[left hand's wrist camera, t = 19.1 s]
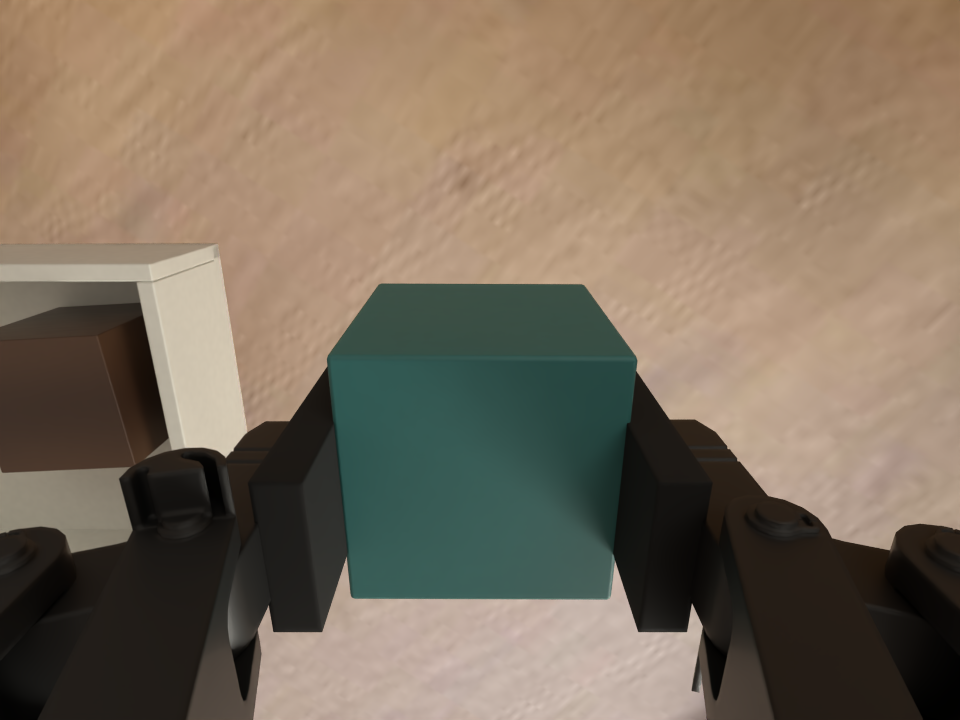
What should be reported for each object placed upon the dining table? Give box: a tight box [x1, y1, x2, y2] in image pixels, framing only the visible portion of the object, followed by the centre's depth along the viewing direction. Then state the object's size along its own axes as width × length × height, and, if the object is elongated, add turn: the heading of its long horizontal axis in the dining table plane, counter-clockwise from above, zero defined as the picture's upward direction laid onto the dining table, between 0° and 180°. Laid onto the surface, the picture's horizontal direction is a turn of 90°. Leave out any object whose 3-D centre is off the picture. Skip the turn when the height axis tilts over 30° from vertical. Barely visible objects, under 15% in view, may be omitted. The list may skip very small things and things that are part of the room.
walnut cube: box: [0, 303, 169, 473], centre depth 22 cm, size 5×5×5 cm
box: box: [0, 243, 247, 553], centre depth 25 cm, size 28×14×6 cm, turn 0°
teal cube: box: [327, 284, 637, 600], centre depth 12 cm, size 5×5×5 cm
